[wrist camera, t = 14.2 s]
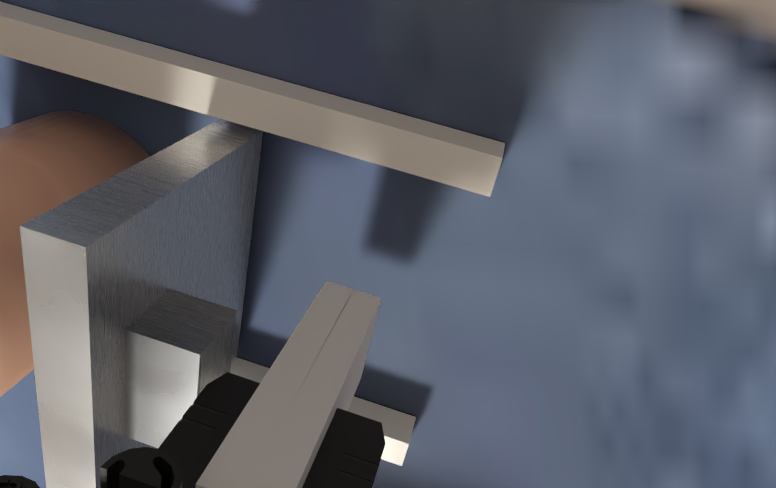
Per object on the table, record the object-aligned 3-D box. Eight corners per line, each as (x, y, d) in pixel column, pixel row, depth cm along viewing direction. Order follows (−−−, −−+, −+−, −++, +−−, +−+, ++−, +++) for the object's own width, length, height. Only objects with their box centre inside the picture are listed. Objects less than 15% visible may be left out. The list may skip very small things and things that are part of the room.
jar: (171, 300, 19) (2, 461, 13) (19, 249, 20) (-211, 382, 14) (179, 141, 17) (-28, 251, 11) (3, 87, 17) (-289, 163, 11)
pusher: (203, 344, 19) (50, 525, 13) (221, 118, 16) (19, 226, 10) (283, 370, 19) (163, 567, 13) (320, 147, 15) (177, 276, 9)
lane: (-230, 223, 22) (-373, 274, 19) (-335, -93, 17) (-558, -103, 14) (409, 438, 20) (381, 544, 16) (505, 142, 15) (494, 204, 11)
